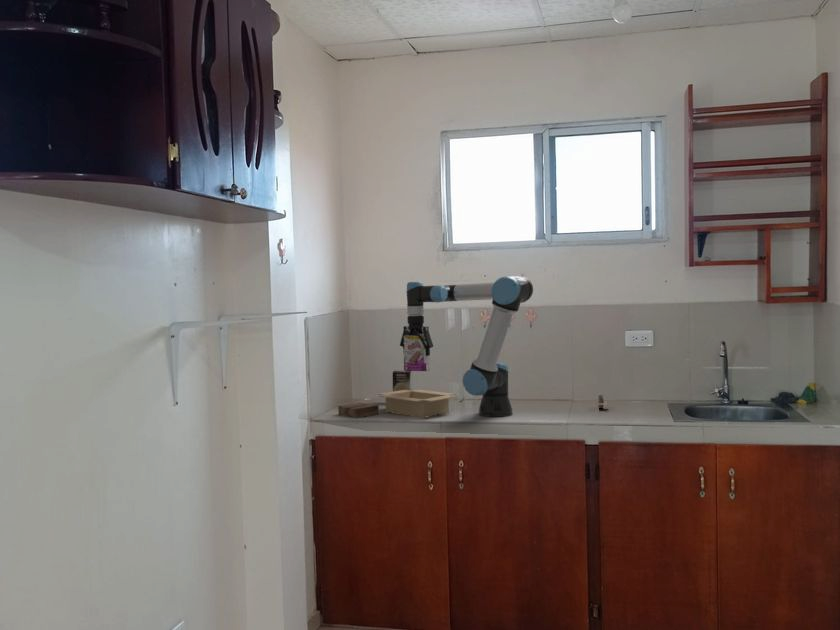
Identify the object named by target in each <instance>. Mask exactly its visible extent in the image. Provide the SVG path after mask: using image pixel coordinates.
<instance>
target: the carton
mask: <svg viewBox="0 0 840 630" xmlns="http://www.w3.org/2000/svg"><path fill="white" fill-rule="evenodd" d="M378 395H379V397H378V398H385V412H386V411H387V412H386V413H389V412H393V413H392V414H396V413H399V414H398V415H402V414H406V415H405V416H409V415H412V416H411V417H415V416H419V417H418V418H422V417H424V418H427V417H426V416H429V417H433V416H432V415H434V416H438V415H437V414H439V415H443V414H442V413H444V414H447V412H449V411H450V407H449V405H450V403H449V402H450V401H449V400H450V399H454V398H458V396H457V395H456V393H451V392H444V391H443V392H442V391H433V390H427V389H426V390H425V389H414V390H411V391H409V390H400V391H394V392H393V391H389V392H382V393H378Z"/></svg>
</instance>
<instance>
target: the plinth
mask: <svg viewBox="0 0 840 630" xmlns="http://www.w3.org/2000/svg"><path fill="white" fill-rule="evenodd" d="M337 407H338V409H337V410H338V416H343V417H348V416H350V418H354V417H357V418H356V419H359V418H358V417H361V418H365V417H364V416H366V417H370V416H369V415H371V416H375V415H374V414H377V415H379V413H380V412H379V411H380V410H379V408H380V407H379V404H377V405H376V404H373V403H371V404H370V403H364V402H355V403H350V404H344V405H339V406H337Z"/></svg>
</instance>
